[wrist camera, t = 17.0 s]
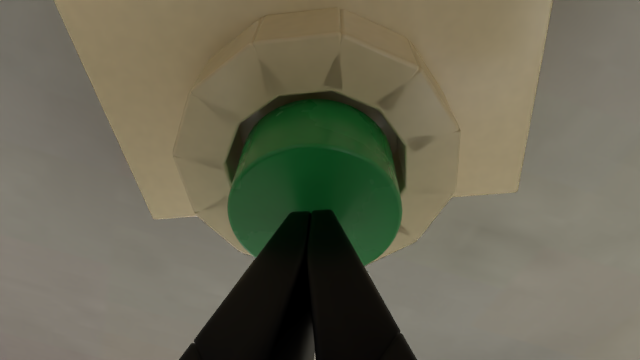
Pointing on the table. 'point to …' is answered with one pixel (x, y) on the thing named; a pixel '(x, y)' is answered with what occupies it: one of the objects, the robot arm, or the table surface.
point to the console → (314, 89)
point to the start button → (317, 176)
